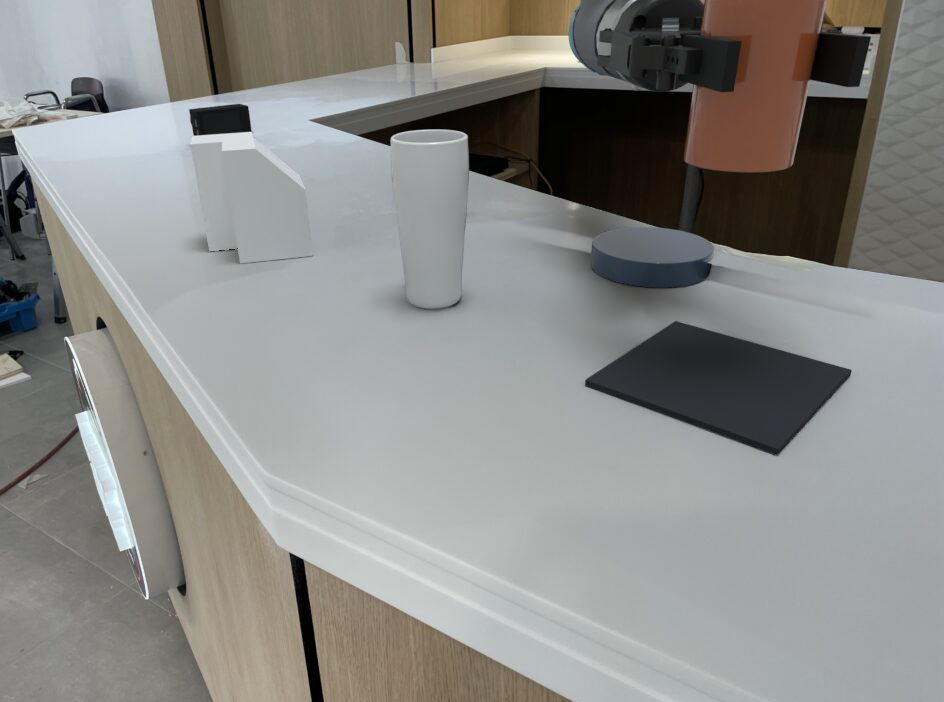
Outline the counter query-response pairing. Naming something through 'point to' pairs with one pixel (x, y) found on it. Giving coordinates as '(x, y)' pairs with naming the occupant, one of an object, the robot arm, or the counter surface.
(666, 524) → the counter surface
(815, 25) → the canister
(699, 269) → the dish
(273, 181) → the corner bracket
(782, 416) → the mat
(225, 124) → the digital camera
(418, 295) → the drinking glass
